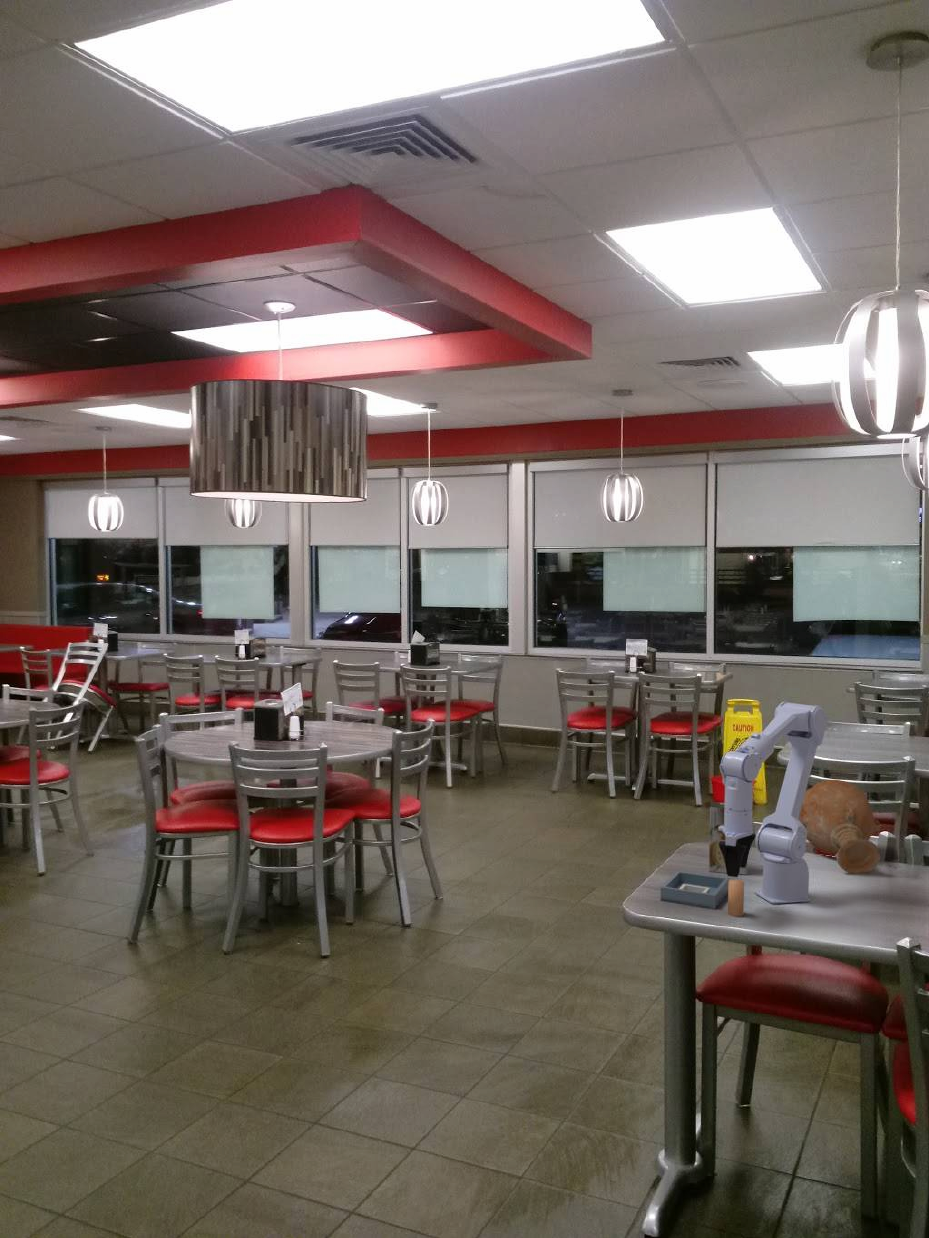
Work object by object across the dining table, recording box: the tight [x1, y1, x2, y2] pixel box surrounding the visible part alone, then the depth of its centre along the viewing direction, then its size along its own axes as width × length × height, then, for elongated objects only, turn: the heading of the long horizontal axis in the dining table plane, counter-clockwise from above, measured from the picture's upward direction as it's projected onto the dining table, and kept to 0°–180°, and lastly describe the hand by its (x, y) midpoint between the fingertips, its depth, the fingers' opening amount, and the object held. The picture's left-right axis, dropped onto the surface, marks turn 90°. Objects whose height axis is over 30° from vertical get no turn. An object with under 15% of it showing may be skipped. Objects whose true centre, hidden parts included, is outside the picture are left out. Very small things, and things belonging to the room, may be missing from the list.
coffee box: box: [708, 801, 748, 876], centre depth 252 cm, size 9×6×16 cm
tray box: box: [660, 870, 730, 910], centre depth 232 cm, size 14×12×3 cm
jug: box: [799, 779, 882, 875], centre depth 263 cm, size 20×19×30 cm
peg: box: [727, 879, 745, 918], centre depth 220 cm, size 3×3×7 cm
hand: (736, 871), depth 219 cm, fingers open, 7 cm apart
